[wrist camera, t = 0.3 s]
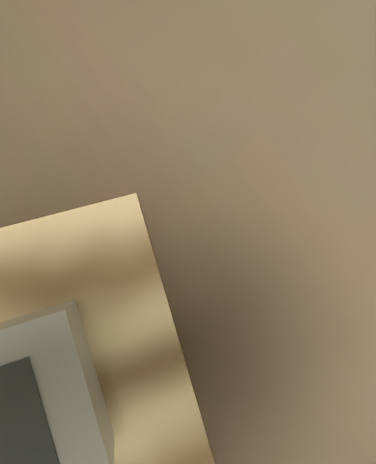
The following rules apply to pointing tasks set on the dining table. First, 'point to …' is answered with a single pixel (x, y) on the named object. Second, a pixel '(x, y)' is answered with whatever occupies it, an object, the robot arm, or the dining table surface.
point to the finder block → (51, 392)
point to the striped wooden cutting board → (112, 321)
